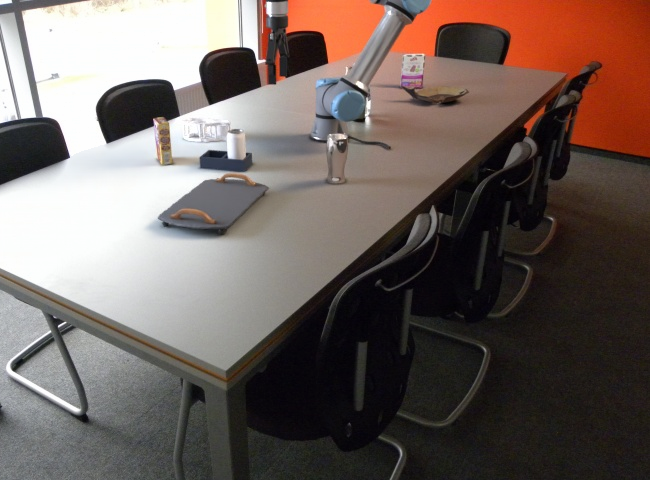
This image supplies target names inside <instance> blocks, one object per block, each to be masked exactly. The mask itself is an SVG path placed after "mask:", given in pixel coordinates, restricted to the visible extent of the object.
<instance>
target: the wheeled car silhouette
mask: <svg viewBox="0 0 650 480" xmlns="http://www.w3.org/2000/svg"><path fill="white" fill-rule="evenodd" d="M181 123H182V133H183V139H184V140H186V141H189V142H196V143H211V142H212V143H213V142H227V134H228V131H229V130H231V121H230V120H227V119H215V118H206V117H191V118H188V119H183V120H182V122H181ZM190 127H192V131H193V132H192V133H190ZM208 127H209V133H208V131H207V129H208ZM213 127H214V133H213ZM186 132H187V133H186ZM196 137H199V138H196Z"/></svg>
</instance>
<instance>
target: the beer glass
mask: <svg viewBox="0 0 650 480" xmlns="http://www.w3.org/2000/svg"><path fill="white" fill-rule="evenodd" d="M325 150H326V151H325V153H326V161H327V170H328V171H327V177H326V182H327V183H329V184H332V185H339V184H340V185H341V184H344V183H345V182H346V175H345V168H346V163H347V158H348V153H349V138H348V136H347V135H345V134H330V135H328V136H327V142H326V147H325Z"/></svg>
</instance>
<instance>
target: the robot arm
mask: <svg viewBox="0 0 650 480" xmlns="http://www.w3.org/2000/svg"><path fill="white" fill-rule="evenodd" d="M368 1H369V2H370V3H371V4H373V5H379V6H383V9H384V14H383V16H382V17H381V19H379V20H380V21H379V22H378V23H377V25H376V27H375V29H374V30H373V32H372V34H371V35H370V37H369V39H368V41H367V42H366V44H365V46H363V49H362V50H361V52H360V54H359V55H358V57H357V58H356V60H355V62H354V64H353V65H352V67H351V69H350V70H349V72H348V73H347V74H345V75H342V76H341V77H339V76H337V77H335V76H333V77H323V78H318V79H317V80H316V83H315V118H314V121H313V124H312V126H311V130H310V139H311V140H313V141H316V142H321V143H327V136H328V135H330V134H345V135H347V136H348V139H350V140H352V141H355V142H358V143H361V144H366V145H381V146H383V147H385V148H386V149H388V150H391V148H392V147H391V146H390V145H388V144H387V143H385V142H381V141H375V140H373V141H372V140H371V141H366V140H362V139H359V138H357V137H354V136H351V135H349V134H350V133H349V128H348V125H347V123H349V122H353V121H356V120H357V119H359V118H360V116H362V114H363V112H364V110H365V108H366V107H365V106H366V101H365V100H366V99H367V97H368V95H369V85H370V84H371V82H372V80H373V79H374V77H375V75H376V74H377V73H378V71H379V69H380V68H381V66H382V65H383V63H384V61H385V59H386V58H387V56H388V55H389V53H390V52H391V50H392V48H393V47H394V45H395V43H396V41H397V40H398V39H399V37H400V35H401V33H402V32H403V30H404V29H405V27H406V26H408V25H412V24H413V22H414V21H415V20H416V17H417V16H418V15H420V14H422V13H424V12H425V11H426V10H428V8H429V7H430V5H431V3H432V0H368ZM264 8H265V13H266V14H265V15H266V17H265V27H266V29H270V30H271V32H268V34H267V47H266V48H267V49H266V56H265V63H264V65H265V66H267V83H268V85H274V86H275V85H277V64H276V61H277V56H278V54H279V58H278V70H279V72H278V73H279V77H281V78H287V77H288V58H290V51H289V44H288V36H287V28H288V27H289V16H288V14H289V0H265V4H264Z"/></svg>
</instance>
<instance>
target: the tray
mask: <svg viewBox="0 0 650 480" xmlns="http://www.w3.org/2000/svg"><path fill="white" fill-rule="evenodd" d="M198 160H199V168H200V169H207V170H216V171H217V170H218V171H229V172H230V171H231V172H243V173H244V172H246V171H247V170H248V169H249V168H250V167H251V166H252V165H253V153H252V152H246V157H245V158H244V159H243V160H239V159H228V151H227V150H218V149H217V150H215V149H208V150H206V152H204V153H203V154H201V155H200V156H199V159H198Z"/></svg>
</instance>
